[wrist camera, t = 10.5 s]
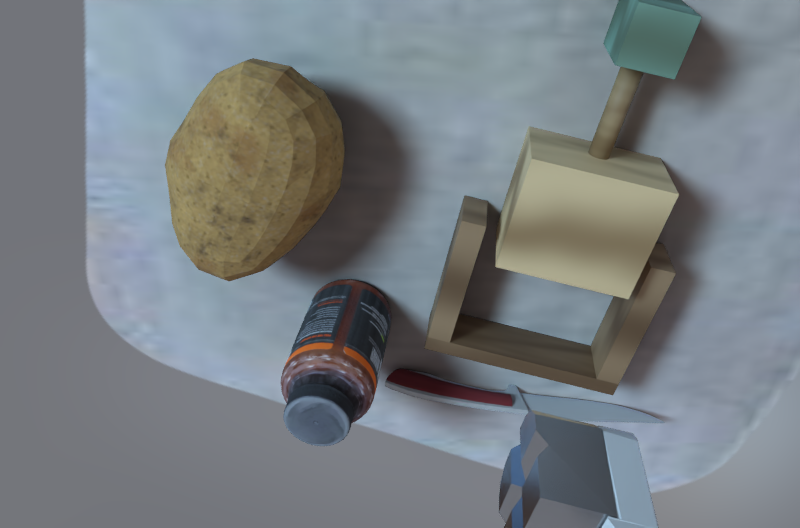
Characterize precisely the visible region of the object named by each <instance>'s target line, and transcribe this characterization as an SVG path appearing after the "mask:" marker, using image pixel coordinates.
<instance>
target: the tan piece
mask: <svg viewBox="0 0 800 528" xmlns="http://www.w3.org/2000/svg"><path fill="white" fill-rule="evenodd" d="M487 202H488V201H485V200H481V199H477V198H473V197H469V196H464V199H463V203H462V206H461V210H460V213H459V217H458V220H457V224H456V227H455V231H454V234H453V238H452V241H451V245H450V248H449V252H448V255H447V258H446V262H445V265H444V269H443V272H442V276H441V279H440V283H439V286H438V290H437V293H436V297H435V300H434V304H433V307H432V311H431V314H430V318H429V324H428V330H427V336H426V342H425V348H424V349H428V350H432V351H436V352H440V353H444V354H448V355H453V356H457V357H461V358H465V359H469V360H473V361H477V362H481V363H485V364H489V365H493V366H497V367H501V368H505V369H509V370H513V371H517V372H521V373H525V374H529V375H533V376H537V377H541V378H545V379H549V380H554V381H558V382H562V383H566V384H570V385H574V386H578V387H582V388H586V389H590V390H594V391H598V392H602V393H606V394H610V395H613V394H614V392H615V390H616V388H617V386H618V384H619V383H620V381H621V379H622V377H623V375H624V373H625V371H626V369H627V367H628V365H629V363H630V361H631V359H632V358H633V356H634V354H635V352H636V350H637V348H638V346H639V344H640V342H641V340H642V338H643V336H644V334H645V332H646V331H647V329H648V327H649V325H650V323H651V321H652V319H653V317H654V315H655V313H656V311H657V309H658V307H659V305H660V304H661V302H662V300H663V298H664V296H665V294H666V292H667V290H668V288H669V286H670V284H671V282H672V280H673V278H674V277H675V275H676V272H675V270H674V268H673V265H672V263H671V260H670V258H669V256H668V253H667V251H666V248H665V246H664V244H660V243H656V244H655V246H654V248H653V250H652V252H651V254H650V256H649V258H648V260H647V262H646V264H645V266H644V268H643V270H642V273H641V275H640V277H639V279H638V281H637V283H636V285H635V287H634V289H633V291H632V293H631V295H630V297H629V299H625V298H620V297H616V296H614V297H613V299H612V301H611V304H610V306H609V308H608V310H607V312H606V314H605V316H604V318H603V321H602V323H601V325H600V327H599V329H598V331H597V333H596V336H595V338H594V340H593V342H592V344H591V346H588V345H584V344H580V343H576V342H572V341H568V340H564V339H560V338H556V337H552V336H548V335H544V334H540V333H536V332H532V331H528V330H524V329H520V328H515V327H511V326H507V325H503V324H499V323H495V322H491V321H487V320H483V319H479V318H475V317H471V316H467V315H463V314H459V312H460V309H461V306H462V302H463V299H464V296H465V293H466V290H467V287H468V283H469V280H470V277H471V274H472V271H473V268H474V264H475V261H476V258H477V255H478V252H479V249H480V245H481V242H482V239H483V236H484V233H485V230H486V224H487Z"/></svg>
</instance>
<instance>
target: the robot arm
mask: <svg viewBox="0 0 800 528" xmlns="http://www.w3.org/2000/svg"><path fill="white" fill-rule="evenodd" d="M520 443H521V444H520V445H518V446H516V447H514V448H512V449H511V451H510V453H509V456H508V458H507V461H506V464H505V467H504V471H503V475H502V479H501V484H500V493H499V513H500V515H501V516H502V518H503V519H504V521H505V523H506V524H505V526H504V528H659V527H658V523H657V518H656V514H655V510H654V506H653V502H652V498H651V494H650V490H649V485H648V481H647V477H646V473H645V469H644V465H643V461H642V457H641V453H640V448H639V444H638V440H637V438H636V437H635V436H634V434H633V433H629V432H625V431H621V430H616V429H612V428H608V427H603V426H595V425H592V424H588V423H584V422H580V421H576V420H572V419H567V418H563V417H559V416H555V415H551V414H547V413H543V412H538V411H534V410H530V411H529V412H528V414H527V415H526V416H525V419H524V421H523V423H522V425H521V427H520Z"/></svg>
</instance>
